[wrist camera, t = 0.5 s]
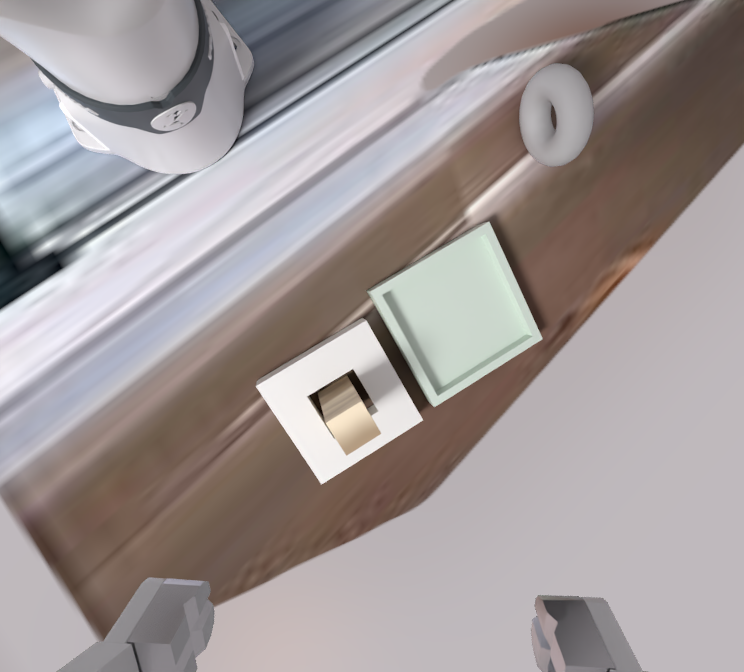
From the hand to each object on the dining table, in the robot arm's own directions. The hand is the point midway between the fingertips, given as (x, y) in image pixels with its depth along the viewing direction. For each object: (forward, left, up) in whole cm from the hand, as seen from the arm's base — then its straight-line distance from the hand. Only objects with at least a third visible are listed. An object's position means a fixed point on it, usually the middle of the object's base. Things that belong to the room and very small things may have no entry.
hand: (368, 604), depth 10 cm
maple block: (+8, 0, -39) cm, 40 cm away
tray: (+7, +17, -39) cm, 43 cm away
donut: (-8, +35, -39) cm, 53 cm away
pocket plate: (+8, 0, -39) cm, 40 cm away
